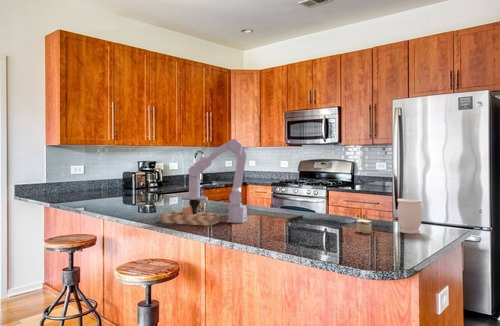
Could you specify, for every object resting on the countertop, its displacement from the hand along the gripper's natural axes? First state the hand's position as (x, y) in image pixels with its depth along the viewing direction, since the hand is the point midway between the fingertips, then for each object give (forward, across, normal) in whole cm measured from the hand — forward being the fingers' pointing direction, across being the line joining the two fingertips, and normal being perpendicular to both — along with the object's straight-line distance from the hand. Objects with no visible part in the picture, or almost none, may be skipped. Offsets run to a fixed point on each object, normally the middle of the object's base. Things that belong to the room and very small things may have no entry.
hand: (194, 214), depth 197 cm
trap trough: (+4, -3, 0) cm, 5 cm away
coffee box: (+5, -8, +19) cm, 21 cm away
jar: (+5, +106, +8) cm, 106 cm away
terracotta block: (+1, -3, 0) cm, 3 cm away
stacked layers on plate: (+5, +86, +2) cm, 86 cm away
